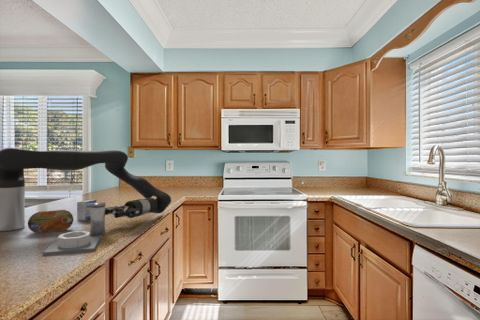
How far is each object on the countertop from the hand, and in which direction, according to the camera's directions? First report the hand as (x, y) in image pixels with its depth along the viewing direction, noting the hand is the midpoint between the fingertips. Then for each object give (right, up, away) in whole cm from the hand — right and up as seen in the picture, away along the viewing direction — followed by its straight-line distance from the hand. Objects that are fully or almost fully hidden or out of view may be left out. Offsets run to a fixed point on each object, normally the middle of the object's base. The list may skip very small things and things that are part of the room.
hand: (107, 214), depth 113 cm
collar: (-2, -7, -19) cm, 20 cm away
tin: (-22, -7, 0) cm, 23 cm away
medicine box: (-20, -7, +22) cm, 31 cm away
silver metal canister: (-2, -7, -4) cm, 8 cm away
